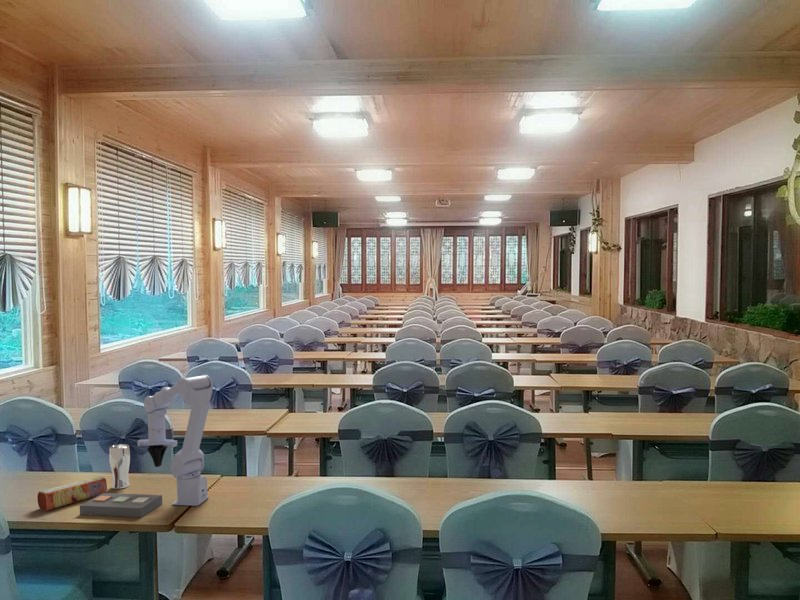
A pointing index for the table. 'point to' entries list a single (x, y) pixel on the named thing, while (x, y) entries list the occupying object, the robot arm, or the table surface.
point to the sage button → (121, 499)
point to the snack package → (71, 493)
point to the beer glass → (120, 465)
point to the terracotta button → (102, 499)
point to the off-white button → (140, 500)
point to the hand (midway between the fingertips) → (158, 465)
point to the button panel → (121, 506)
